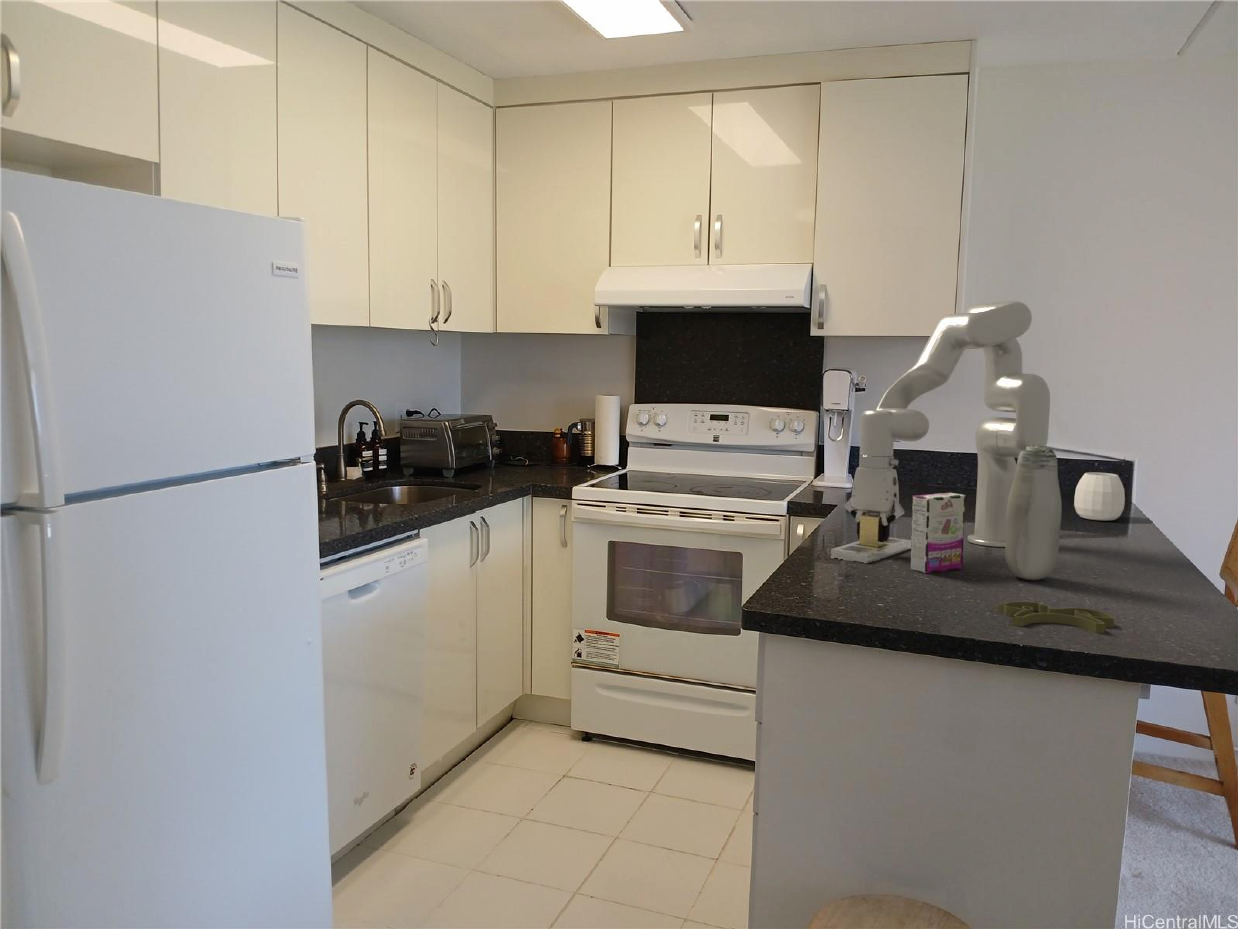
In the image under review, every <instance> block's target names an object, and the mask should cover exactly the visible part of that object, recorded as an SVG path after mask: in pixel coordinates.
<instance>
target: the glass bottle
mask: <svg viewBox="0 0 1238 929" xmlns="http://www.w3.org/2000/svg"><path fill="white" fill-rule="evenodd" d="M1016 464H1017V468H1016V473H1015V478H1014V481H1013V484H1012V487H1011V490H1010V494H1009V498H1008V503H1007V517H1006V543H1005V547H1004V548H1005V550H1004V553H1005V561H1006V564H1007V567H1008V569H1009V570H1010V572H1011V573H1012V574H1013V575H1014V576H1016V577H1018V578H1020V579H1023V580H1027V581H1038V580H1042V579H1045V578H1047V577H1048V576H1050V574H1052V573H1053V571H1054V570H1055V568H1056V565H1057V562H1058V558H1059V549H1060V548H1059V547H1060V546H1059V545H1060V533H1061V524H1062V513H1063V512H1062V508H1063V506H1062V505H1063V504H1062V496H1061V495H1062V494H1061V490H1060V489H1061V488H1060V484H1059V477H1058V474H1059V473H1058V457H1057V455H1056V452H1055V451H1054V450H1053V449H1052V448H1051V447H1049V446H1047V445H1046V446H1043V445H1031V446H1028V447H1026V448H1024V449H1023V450H1022V451H1021V453H1020V454H1019V457H1018V458H1017V461H1016Z"/></svg>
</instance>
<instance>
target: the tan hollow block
mask: <svg viewBox="0 0 1238 929" xmlns="http://www.w3.org/2000/svg"><path fill="white" fill-rule="evenodd" d="M881 525H882V519H881V514H880V513H878V512H877V513H876V512H867V514H865V515H861V516H860V539H858V541H859V545H860V546H867V547H874V548H881V547H884V546H886V541H885V542H880V541H879V535H880V526H881Z"/></svg>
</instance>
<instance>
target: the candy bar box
mask: <svg viewBox="0 0 1238 929" xmlns="http://www.w3.org/2000/svg"><path fill="white" fill-rule="evenodd" d="M911 508H912V510H911V511H912V512H911V536H910V538H911V539H910V540H911V549H910V566H909V567H910V570H912V571H914V572H918V573H922V574H926V573H928V574H933V573H932V572H936V573H941V572H943V573H944V572H948V571H949V570H950V571H955V570H962V569H963V568H964V566H963V564H964V560H963V559H964V538H965V534H964V533H965V531H964V530H965V513H966V510H965V509H966V495H965V494H961V493H954V492H945V493H944V492H943V493H933V494H921V495H919V494H918V495H912V507H911ZM950 571H949V572H950Z"/></svg>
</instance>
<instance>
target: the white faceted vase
mask: <svg viewBox="0 0 1238 929" xmlns="http://www.w3.org/2000/svg"><path fill="white" fill-rule="evenodd" d="M1125 497H1126V496H1125V487H1124V485H1123V482H1122V481H1121V478H1120V477H1119V474H1115V473H1107V472H1085V473H1084V474H1083V475H1082V477H1081V478H1080V479H1079V481H1078V483H1077V485H1076V487H1075V493H1074V501H1073V502H1074V503H1073V506H1074V509H1075V513H1076V514H1078V516H1079V517H1080V518H1083V519H1086V520H1089V521H1097V522H1107V521H1115V520H1117V519H1118V518H1119V517H1120V516H1121V515H1122V513H1123V511H1124V509H1125V501H1126V498H1125Z"/></svg>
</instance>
